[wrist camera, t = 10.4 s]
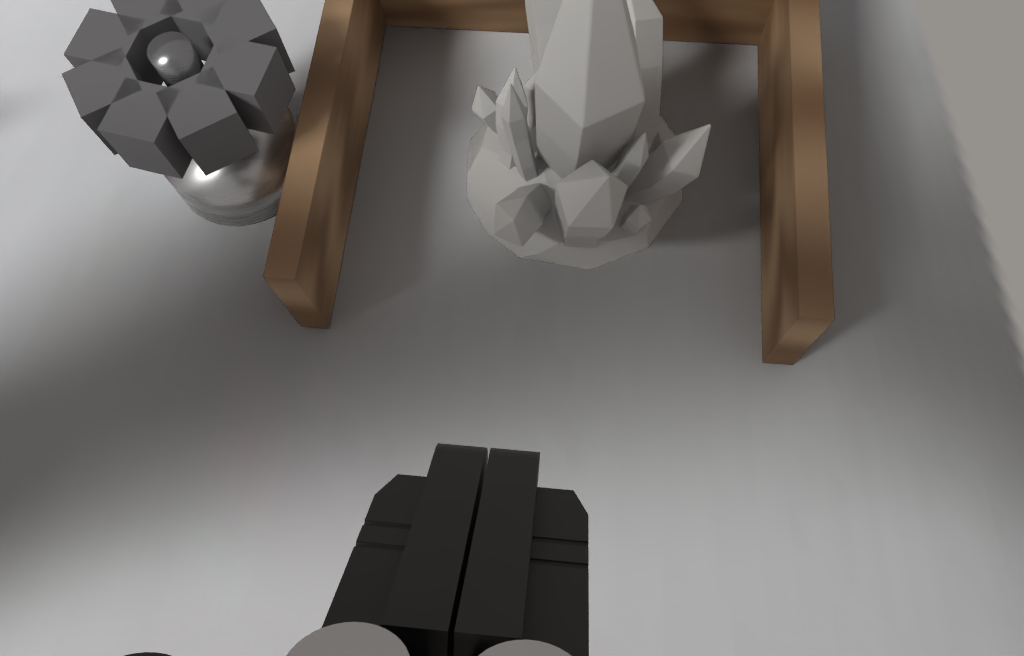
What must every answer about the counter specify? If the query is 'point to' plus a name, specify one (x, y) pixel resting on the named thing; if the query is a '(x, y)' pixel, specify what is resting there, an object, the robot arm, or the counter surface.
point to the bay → (501, 7)
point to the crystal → (582, 138)
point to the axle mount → (243, 184)
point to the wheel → (189, 103)
